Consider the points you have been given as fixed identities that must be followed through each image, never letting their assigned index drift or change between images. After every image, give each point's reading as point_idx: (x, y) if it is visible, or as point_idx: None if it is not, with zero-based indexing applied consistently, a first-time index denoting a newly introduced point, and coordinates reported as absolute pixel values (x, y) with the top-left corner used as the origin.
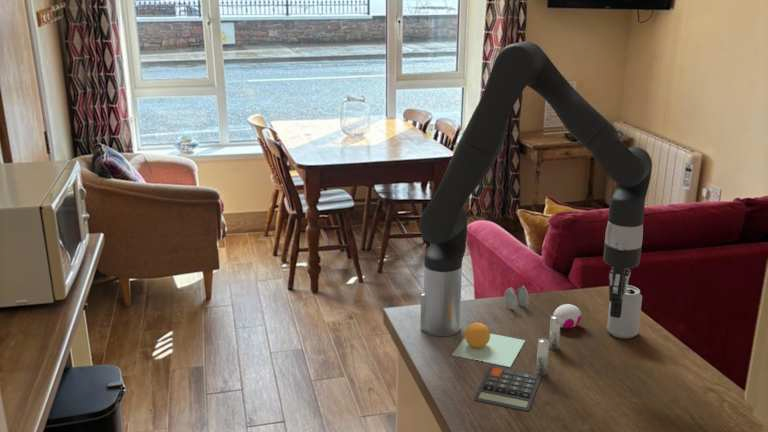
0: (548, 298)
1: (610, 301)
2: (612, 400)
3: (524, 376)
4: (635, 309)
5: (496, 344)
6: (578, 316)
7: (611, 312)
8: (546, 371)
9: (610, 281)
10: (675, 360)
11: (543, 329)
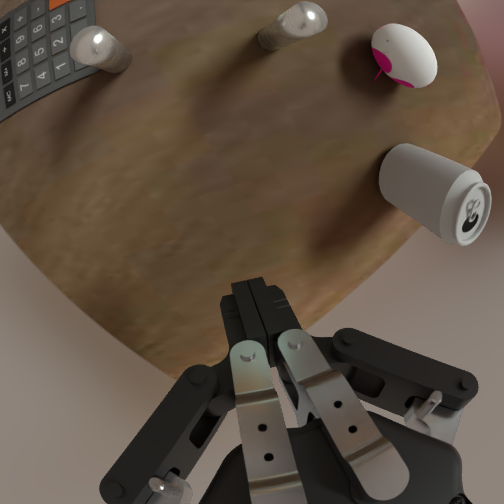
0: (460, 29)
1: (185, 373)
2: (104, 241)
3: None
4: (427, 227)
5: None
6: (407, 81)
7: (234, 297)
8: (115, 72)
9: (249, 474)
10: (326, 280)
11: (351, 8)
